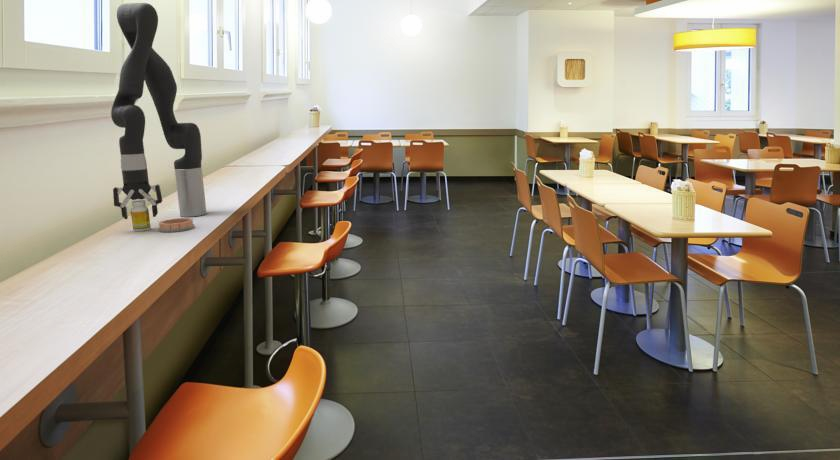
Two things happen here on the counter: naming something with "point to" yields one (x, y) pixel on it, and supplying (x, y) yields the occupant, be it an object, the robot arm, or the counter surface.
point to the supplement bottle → (140, 216)
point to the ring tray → (176, 225)
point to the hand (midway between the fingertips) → (140, 217)
